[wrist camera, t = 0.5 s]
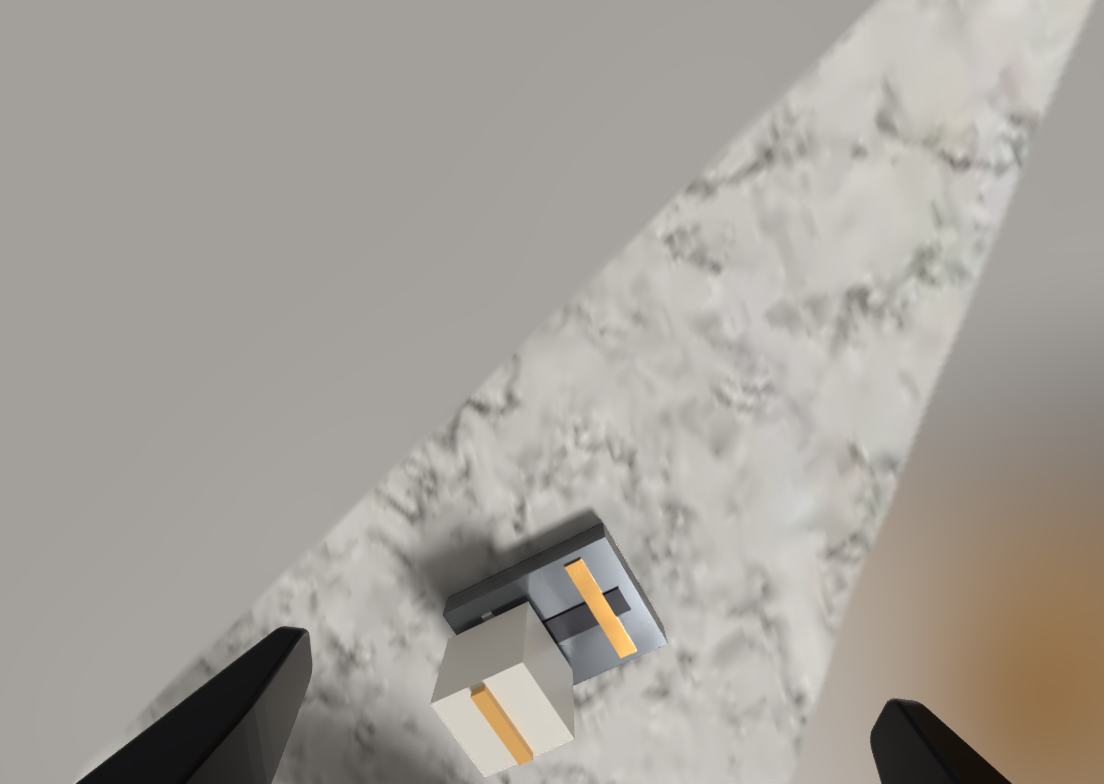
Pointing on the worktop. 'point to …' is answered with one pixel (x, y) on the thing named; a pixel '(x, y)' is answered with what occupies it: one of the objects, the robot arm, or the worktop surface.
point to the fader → (505, 691)
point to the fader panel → (571, 603)
